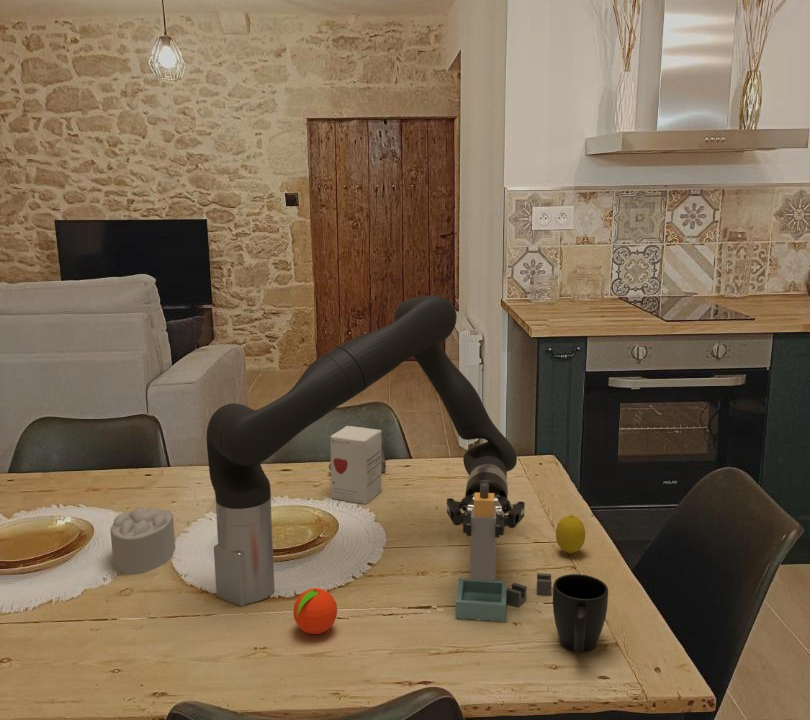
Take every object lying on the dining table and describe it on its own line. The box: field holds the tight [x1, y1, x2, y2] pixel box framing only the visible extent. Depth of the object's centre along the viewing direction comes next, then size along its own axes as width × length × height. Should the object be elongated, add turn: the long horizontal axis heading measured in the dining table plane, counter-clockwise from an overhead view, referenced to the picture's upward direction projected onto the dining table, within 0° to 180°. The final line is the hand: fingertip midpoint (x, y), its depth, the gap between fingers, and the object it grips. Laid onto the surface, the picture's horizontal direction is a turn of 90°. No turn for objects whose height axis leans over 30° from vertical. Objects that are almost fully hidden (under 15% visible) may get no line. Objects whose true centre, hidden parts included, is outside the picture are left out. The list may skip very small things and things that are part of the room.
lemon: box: [555, 514, 586, 555], centre depth 154 cm, size 6×6×8 cm
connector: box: [469, 482, 497, 581], centre depth 132 cm, size 4×4×16 cm
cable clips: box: [506, 572, 553, 608], centre depth 138 cm, size 9×5×2 cm, turn 147°
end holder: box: [455, 577, 508, 623], centre depth 135 cm, size 8×8×3 cm
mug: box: [552, 573, 609, 654], centre depth 122 cm, size 8×12×10 cm
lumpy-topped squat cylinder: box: [110, 507, 176, 575], centre depth 152 cm, size 10×13×9 cm
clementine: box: [293, 587, 338, 635], centre depth 127 cm, size 8×7×7 cm
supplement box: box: [330, 425, 383, 505], centre depth 182 cm, size 9×9×15 cm
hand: (483, 531), depth 129 cm, fingers closed on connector, 4 cm apart
